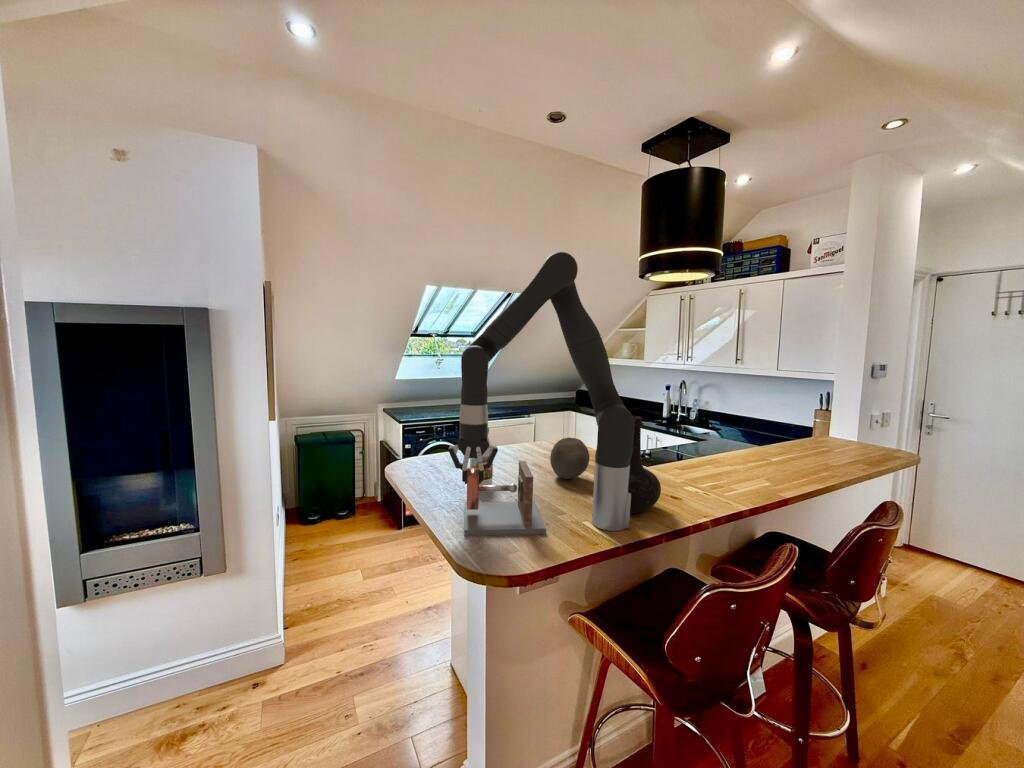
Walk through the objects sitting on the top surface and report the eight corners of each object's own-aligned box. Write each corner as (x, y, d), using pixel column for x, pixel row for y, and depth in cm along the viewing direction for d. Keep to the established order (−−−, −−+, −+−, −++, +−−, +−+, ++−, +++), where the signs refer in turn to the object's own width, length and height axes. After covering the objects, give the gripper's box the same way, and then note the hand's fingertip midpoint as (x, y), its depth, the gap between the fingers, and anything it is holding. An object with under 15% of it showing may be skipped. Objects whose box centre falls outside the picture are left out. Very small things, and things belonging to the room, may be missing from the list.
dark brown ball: (545, 482, 145) (547, 440, 144) (553, 470, 159) (555, 432, 157) (586, 487, 141) (588, 444, 140) (590, 475, 155) (592, 436, 153)
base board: (534, 506, 124) (534, 501, 124) (546, 534, 107) (546, 528, 106) (464, 507, 122) (464, 502, 122) (464, 535, 104) (464, 530, 104)
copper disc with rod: (514, 499, 120) (515, 462, 119) (518, 515, 109) (520, 475, 108) (466, 500, 118) (467, 462, 117) (466, 516, 107) (467, 475, 106)
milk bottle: (465, 484, 141) (466, 426, 139) (482, 479, 147) (483, 423, 145) (479, 490, 136) (480, 430, 134) (496, 485, 141) (498, 427, 139)
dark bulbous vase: (617, 522, 115) (622, 423, 112) (588, 498, 132) (592, 411, 129) (672, 517, 119) (679, 421, 116) (637, 494, 136) (643, 410, 133)
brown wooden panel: (524, 504, 122) (525, 461, 120) (531, 525, 108) (533, 477, 107) (515, 504, 122) (516, 461, 120) (521, 525, 108) (523, 477, 106)
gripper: (498, 418, 115) (497, 478, 117) (447, 417, 113) (447, 478, 115) (501, 423, 107) (499, 487, 109) (446, 423, 106) (445, 488, 108)
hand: (472, 482), depth 112 cm, fingers closed on copper disc with rod, 3 cm apart
